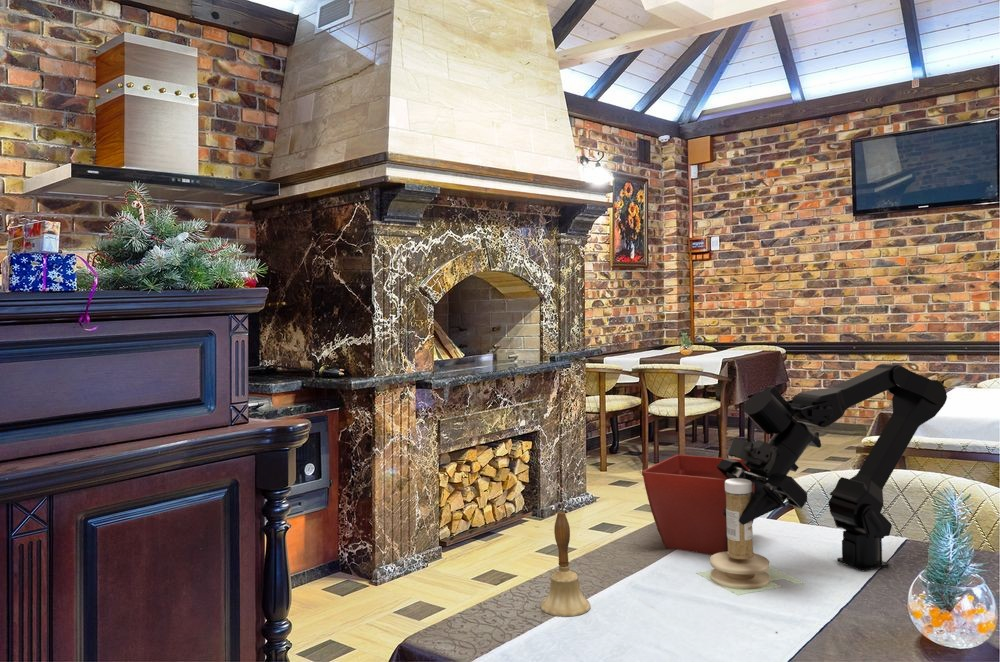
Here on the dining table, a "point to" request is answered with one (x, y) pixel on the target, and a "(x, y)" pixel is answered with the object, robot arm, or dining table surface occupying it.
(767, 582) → the bobbin
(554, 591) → the hand bell
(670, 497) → the plant pot
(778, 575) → the notched board
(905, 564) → the dining table surface
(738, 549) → the sprinkles bottle
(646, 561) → the dining table surface
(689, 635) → the dining table surface
